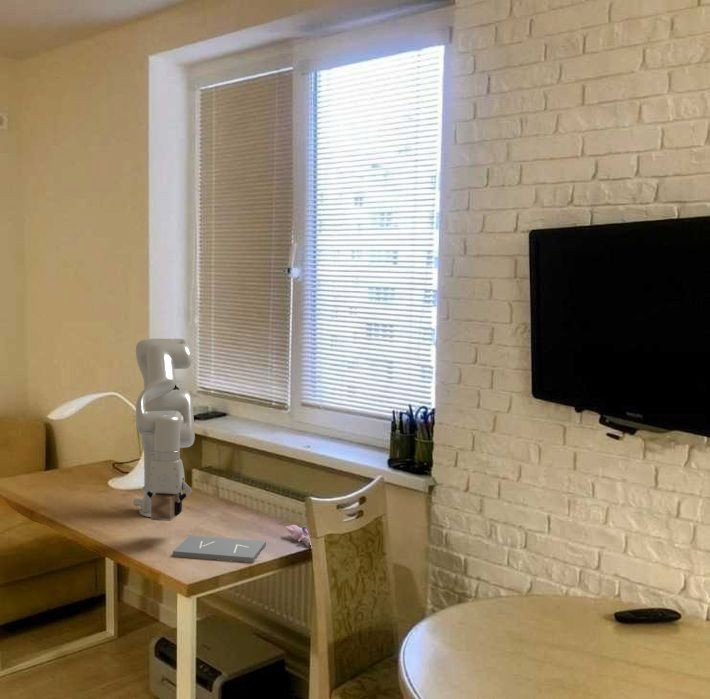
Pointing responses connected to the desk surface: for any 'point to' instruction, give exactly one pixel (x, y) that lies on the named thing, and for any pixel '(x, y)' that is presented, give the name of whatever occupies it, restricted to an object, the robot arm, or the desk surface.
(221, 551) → the slate board
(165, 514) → the block
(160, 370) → the robot arm
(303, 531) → the pink plastic figure
